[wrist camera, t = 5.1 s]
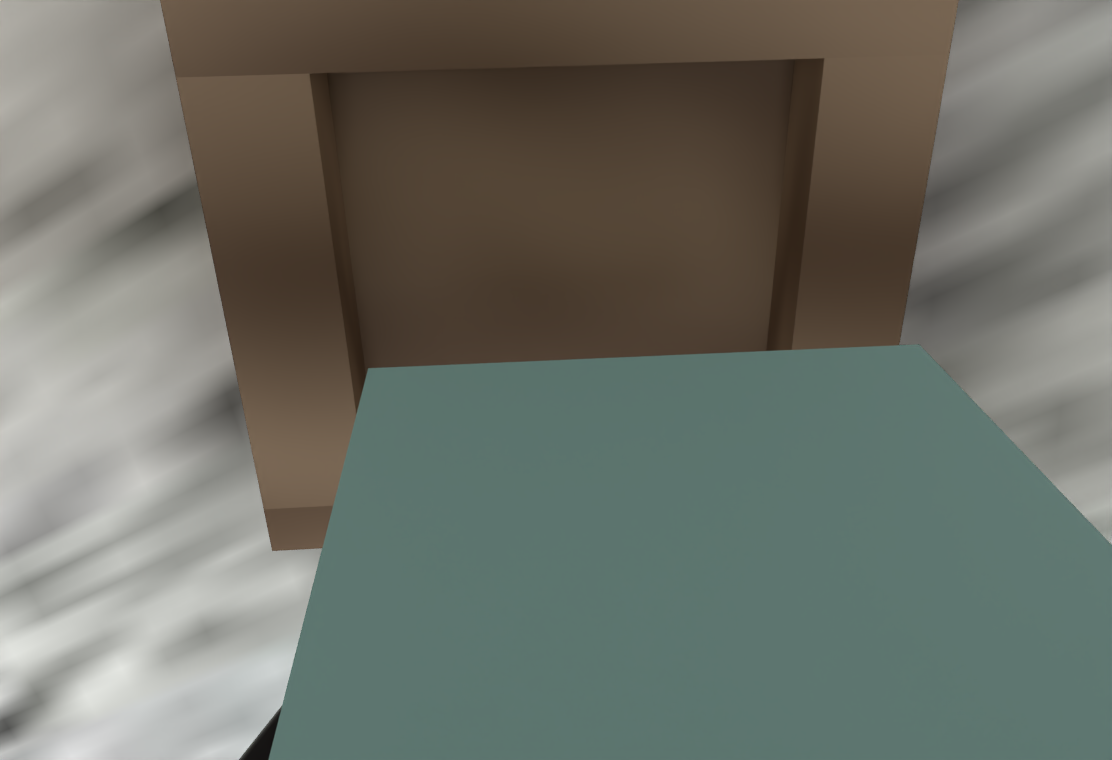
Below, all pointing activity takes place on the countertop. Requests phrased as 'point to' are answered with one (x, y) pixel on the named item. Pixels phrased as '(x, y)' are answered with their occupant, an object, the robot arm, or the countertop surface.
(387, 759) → the teal block
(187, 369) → the countertop surface
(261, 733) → the robot arm
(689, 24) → the puzzle board
